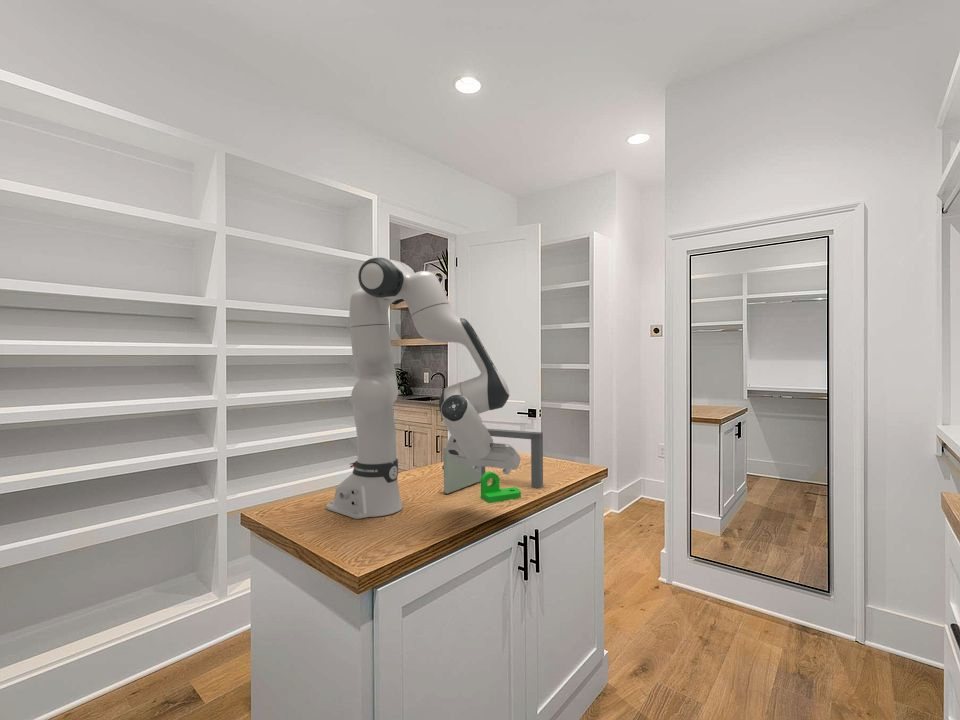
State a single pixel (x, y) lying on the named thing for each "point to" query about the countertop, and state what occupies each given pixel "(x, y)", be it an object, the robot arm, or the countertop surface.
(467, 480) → the door
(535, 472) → the wall frame
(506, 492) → the mechanical part
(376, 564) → the countertop surface
